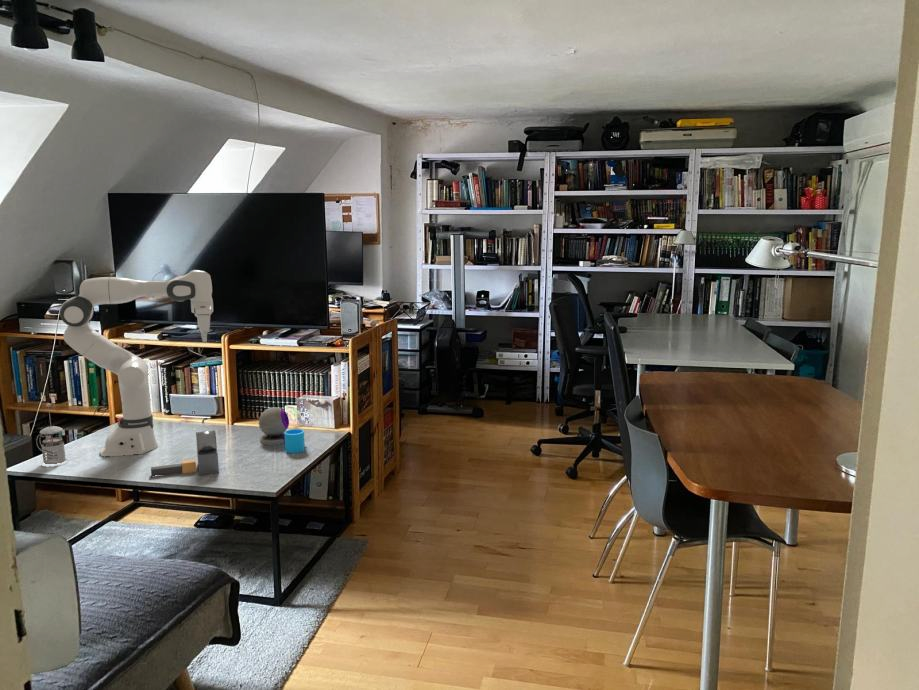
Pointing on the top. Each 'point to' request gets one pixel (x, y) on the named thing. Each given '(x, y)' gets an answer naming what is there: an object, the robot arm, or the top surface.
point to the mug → (294, 441)
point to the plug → (175, 468)
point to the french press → (56, 452)
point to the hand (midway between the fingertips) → (204, 339)
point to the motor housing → (207, 452)
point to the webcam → (273, 425)
